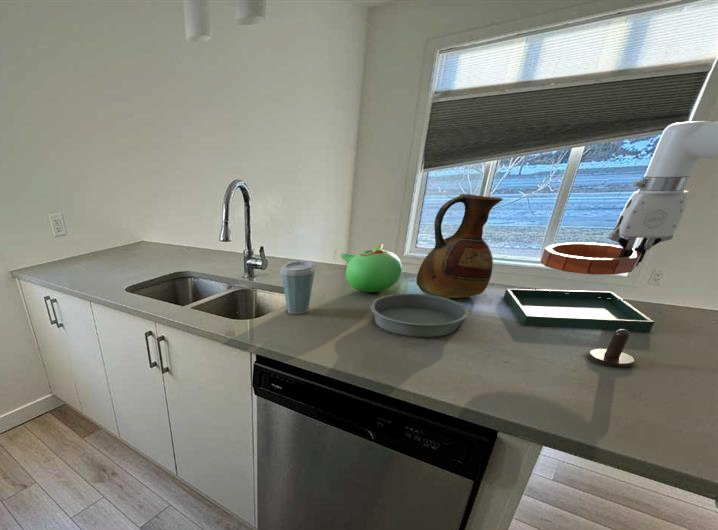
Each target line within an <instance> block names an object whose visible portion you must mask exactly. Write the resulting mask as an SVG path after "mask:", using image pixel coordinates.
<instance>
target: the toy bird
mask: <svg viewBox="0 0 718 530" xmlns="http://www.w3.org/2000/svg"><path fill="white" fill-rule="evenodd" d="M383 248H384V244H383V243H380V244H378V245H376V246H375V247H374V248H373V249H370V250H365V251H363V252H360V253H358V254H351V253H343V252H342V253H339V257H340V258H341V259H343V260H344V261H345V262H347V263H348V264H347V266H346V269H345V277H346V280H347V283H348V284H349V285H350V286H351V287H352V288H353V289H355V290H357V291H359V292H363V293H377V292H378V293H379V292H382V291H385V290H387V289H390V288H391V287H392V286H394V285H395V284H396V283H397V282H398V281H399V280H400V278H401V275H402V272H403V265H402V262H401V259H400V258H399V257H398V256H397V255H396V254H395V253H394V252H391V251H389V250H386V249H383Z"/></svg>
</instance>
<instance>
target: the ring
mask: <svg viewBox="0 0 718 530" xmlns="http://www.w3.org/2000/svg"><path fill="white" fill-rule="evenodd" d="M634 249H635V248H632V250H633V253H632V255H631V256H629V257H622V258H619V255H620V253H621V251H622V247H621V245H615V244H608V243H597V242H563V243H561V242H560V243H555V244H550V245H548V246H546V247H544V250H543V252H542V255H541V258H540V261H539V262H540V263H541V264H542V265H543V266H544V267H547V268H551V269H554V270H557V271H560V272H566V273H574V274H580V275H581V274H583V275H598V276H599V275H600V276H601V275H602V276H603V275H605V276H606V275H608V276H612V275H614V276H615V275H620V274H621V275H622V274H627V273H628V274H629V273H631V272H633V271H634V270H635V269H636V267H637V266H636V265H637V263H638V261H639V259H640V257H641V254H642V253H641V252H639V251H636V250H634Z"/></svg>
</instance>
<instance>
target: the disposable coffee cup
mask: <svg viewBox="0 0 718 530" xmlns="http://www.w3.org/2000/svg"><path fill="white" fill-rule="evenodd" d="M315 273H316V267H315V264H314V262H313V261H310V260H301V259H300V260H294V261H290V262H287V263H285V264H284V265H282V266H281V268H280V274H281V279H282V286H283V291H284V299H285V304H286V311H287V312H288V313H289V314H293V315H298V314H300V315H301V314H306V313H307V312H308V310H309V306H310V301H311V296H312V289H313V284H314V277H315Z"/></svg>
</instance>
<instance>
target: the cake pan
mask: <svg viewBox="0 0 718 530" xmlns="http://www.w3.org/2000/svg"><path fill="white" fill-rule="evenodd" d="M370 310H371V311H372V313H373V315H374V316H373V317H374V322H375V324H376V325H377V326H378V327H379V328H381V329H382V330H385V331H387V332H390V333H393V334H396V335H400V336H406V337H412V338H413V337H414V338H435V337H442V336H446V335H449V334H450V335H451V334H452V333H453V332H455V331H456V330H457V329H458V328H459V326H460V324H461V323H462V322H463V321H464V320H467V318H468V317H469V315H470V312H469V309H468V308H467V307H466V306H465V305H463V304H462V303H460V302H458V301H456V300H453V299H447V298H443V297H439V296H433V295H429V294H426V293H425V294H423V293H396V294H390V295H385V296H382V297H379V298H376V299H375V300H374V301H372V302H371V304H370Z"/></svg>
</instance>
